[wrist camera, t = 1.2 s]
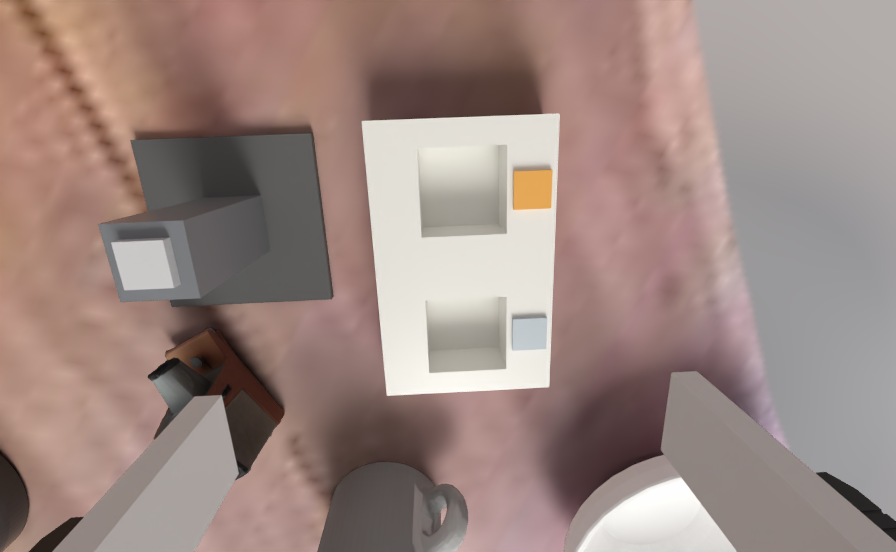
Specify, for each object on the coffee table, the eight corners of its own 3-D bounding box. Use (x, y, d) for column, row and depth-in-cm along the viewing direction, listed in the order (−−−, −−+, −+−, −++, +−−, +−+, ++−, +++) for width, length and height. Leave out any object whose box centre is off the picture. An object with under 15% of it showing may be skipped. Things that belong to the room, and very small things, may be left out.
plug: (214, 253, 31) (111, 306, 21) (203, 197, 30) (88, 226, 20) (270, 250, 31) (194, 302, 21) (260, 195, 30) (175, 222, 20)
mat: (176, 303, 33) (171, 306, 32) (136, 140, 29) (130, 140, 29) (333, 296, 33) (331, 299, 33) (313, 133, 30) (310, 133, 29)
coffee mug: (366, 561, 42) (347, 686, 32) (310, 488, 39) (271, 602, 29) (491, 508, 40) (510, 622, 31) (443, 429, 37) (447, 527, 28)
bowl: (590, 390, 37) (626, 447, 30) (788, 437, 39) (863, 500, 32) (517, 559, 42) (534, 639, 36) (695, 591, 45) (742, 672, 38)
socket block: (391, 368, 35) (386, 398, 31) (370, 123, 30) (360, 120, 26) (536, 360, 36) (550, 389, 32) (543, 116, 30) (561, 113, 26)
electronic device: (216, 320, 34) (158, 370, 26) (289, 411, 36) (255, 478, 29) (171, 346, 34) (103, 402, 27) (247, 433, 37) (203, 505, 30)
